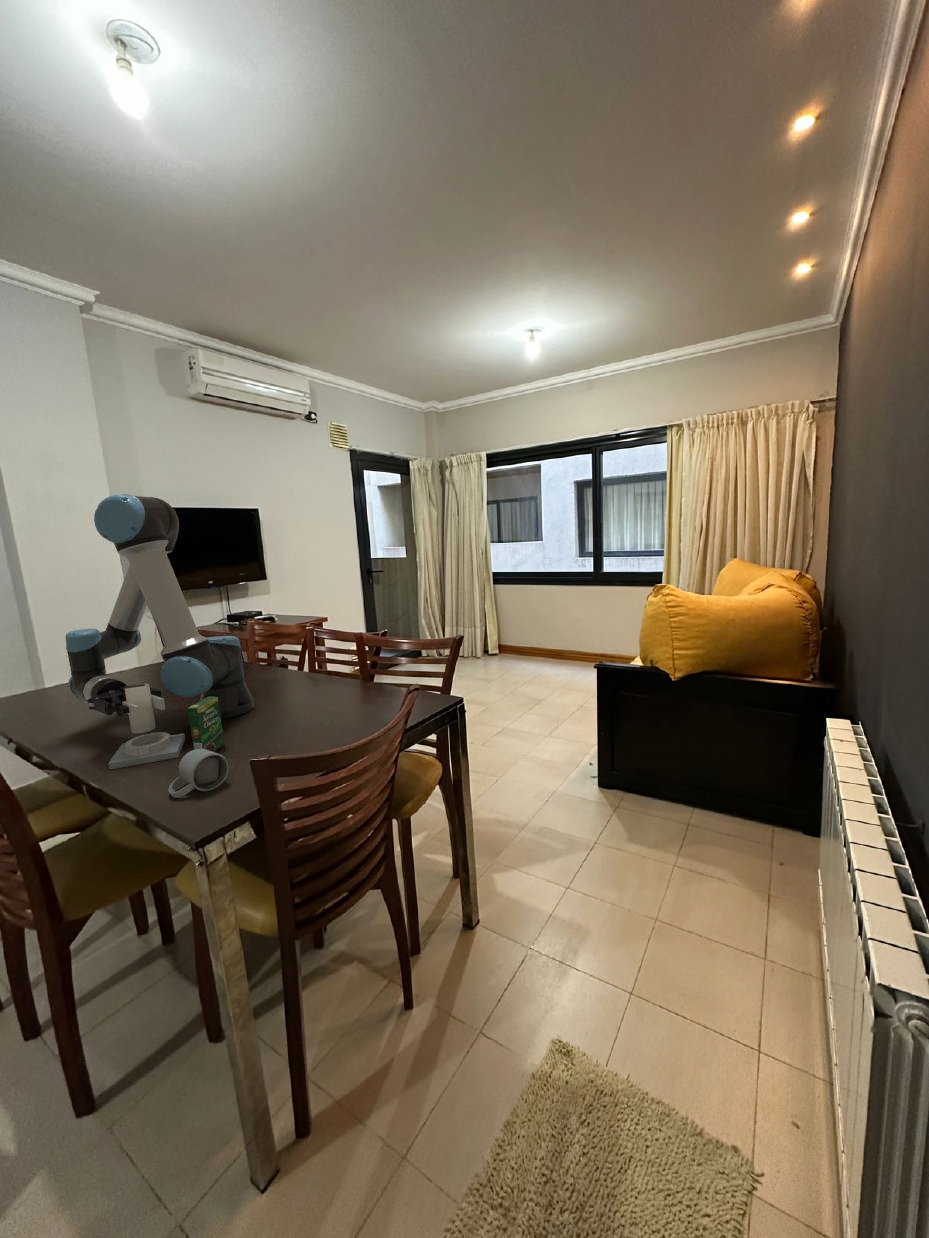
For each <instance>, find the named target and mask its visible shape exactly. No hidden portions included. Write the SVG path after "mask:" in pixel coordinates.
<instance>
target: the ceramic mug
mask: <svg viewBox="0 0 929 1238" xmlns="http://www.w3.org/2000/svg"><path fill="white" fill-rule="evenodd" d="M178 772H179V773H178V774H179V776H178V777H176V778H175V779H174V780H173V781H172V782H171V783H170V785H169V786H168V793H169V794H170V796H171V797H172V798H174V799H179V798H181V797H184V796H185V795H187V794H190V792H192V791H193V790H194V789H196V790H197V791H201V792H209V791H212V790H215V789H216V788H218V787H220V785H222V784H223V782H225V780H226V778H227V776H228V773H229V762H228V760H227V758H226V757H225V756H224V755H222V754H220V753H217V752H216V751H214V752H212V751H209V750H206V749H195V750H194V749H193V750H190V751H188V752H187V753H186V754H184V755H183V756H182V758H181V760H180V762H179V765H178ZM184 781H185V782H186V783H188V784H187V785H185V786H184V787H182V788H181V789H178V790H177V791H176V789H177V788H178V787H179V786H180V785H181V784H182V783H183V782H184Z"/></svg>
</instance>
